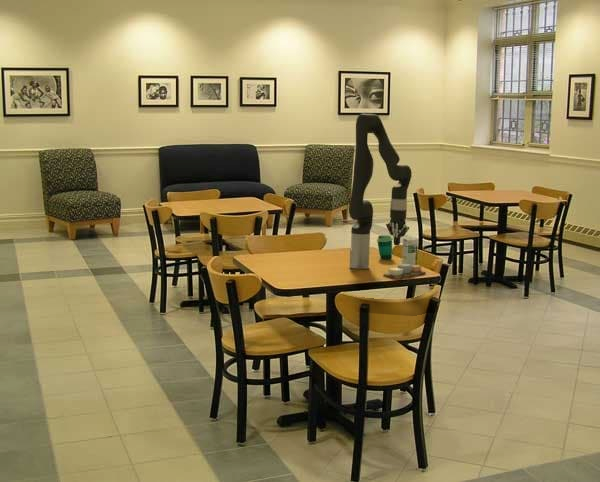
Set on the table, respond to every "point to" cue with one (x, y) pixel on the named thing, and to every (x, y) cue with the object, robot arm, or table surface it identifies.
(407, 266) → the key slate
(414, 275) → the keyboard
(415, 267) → the key terracotta
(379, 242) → the cup
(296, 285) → the table surface
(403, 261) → the syrup box
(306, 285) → the table surface
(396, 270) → the key cream
